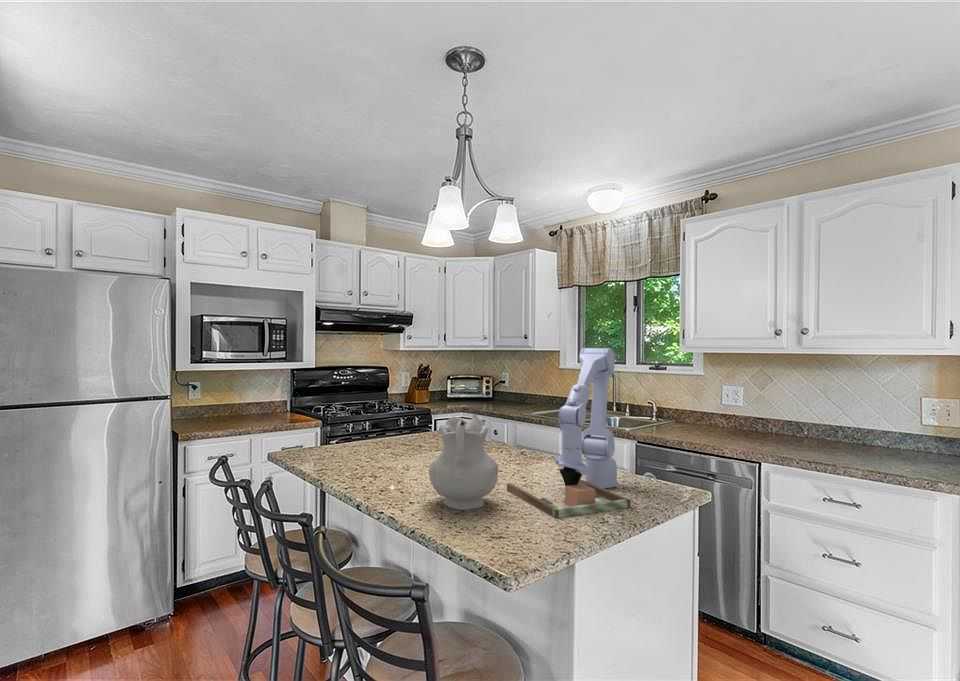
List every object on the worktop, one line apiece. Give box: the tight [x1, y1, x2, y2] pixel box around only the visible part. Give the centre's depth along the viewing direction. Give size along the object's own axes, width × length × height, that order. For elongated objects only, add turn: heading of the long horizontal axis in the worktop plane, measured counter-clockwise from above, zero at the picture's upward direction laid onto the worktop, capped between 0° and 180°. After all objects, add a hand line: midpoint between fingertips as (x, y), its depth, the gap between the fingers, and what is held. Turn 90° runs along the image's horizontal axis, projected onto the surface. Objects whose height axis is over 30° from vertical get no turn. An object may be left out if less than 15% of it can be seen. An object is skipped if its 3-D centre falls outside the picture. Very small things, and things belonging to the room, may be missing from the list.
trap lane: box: [506, 478, 632, 519], centre depth 153 cm, size 24×28×2 cm
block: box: [564, 484, 596, 507], centre depth 146 cm, size 6×6×5 cm
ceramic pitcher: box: [428, 414, 499, 511], centre depth 145 cm, size 22×20×25 cm
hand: (571, 494), depth 150 cm, fingers closed
